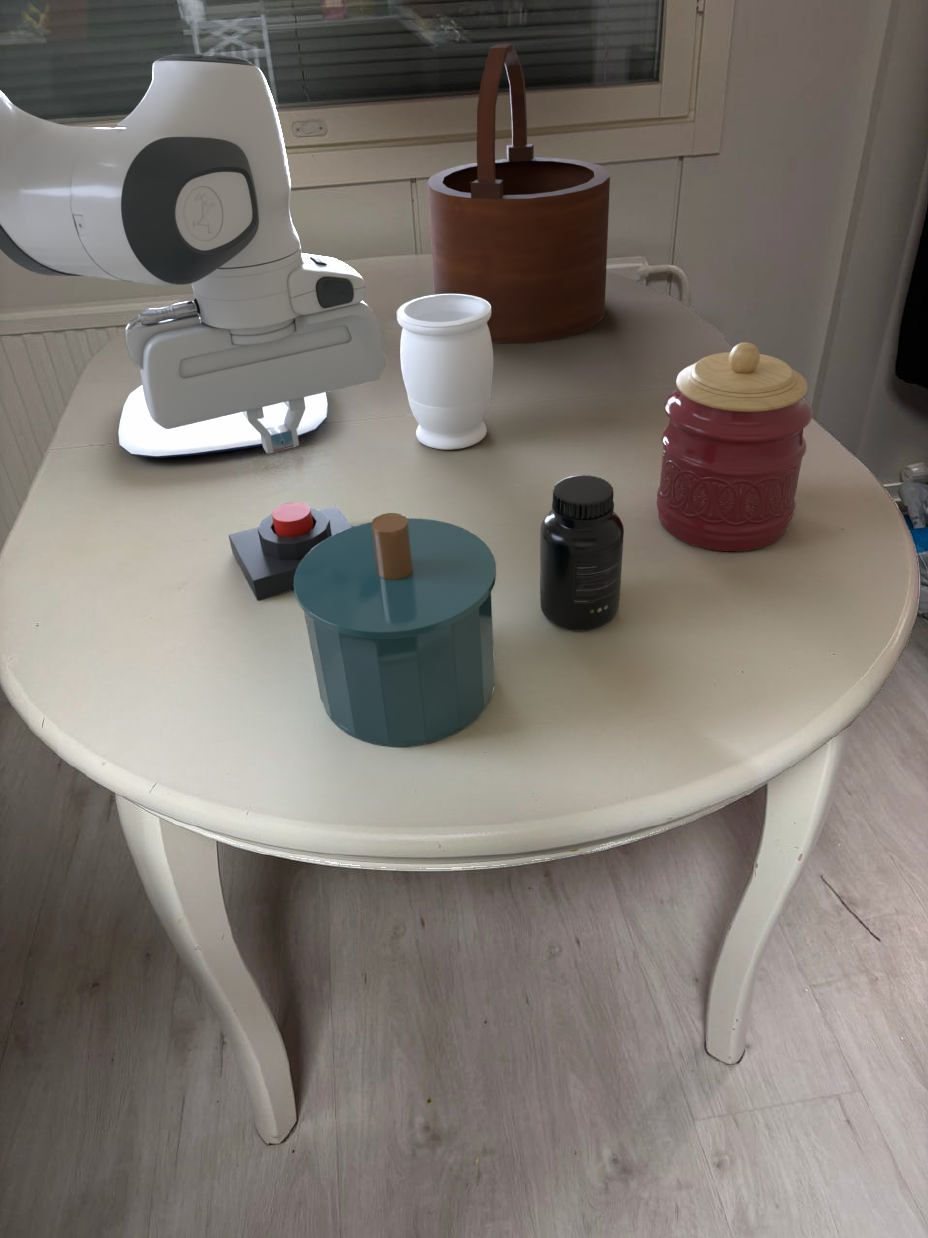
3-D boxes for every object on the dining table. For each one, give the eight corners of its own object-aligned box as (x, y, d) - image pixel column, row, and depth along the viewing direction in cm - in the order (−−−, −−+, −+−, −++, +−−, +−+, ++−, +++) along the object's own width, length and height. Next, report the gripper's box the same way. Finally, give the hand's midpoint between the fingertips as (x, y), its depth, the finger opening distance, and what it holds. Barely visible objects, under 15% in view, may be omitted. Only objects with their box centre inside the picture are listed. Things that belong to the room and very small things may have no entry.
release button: (281, 541, 85) (278, 525, 84) (270, 524, 87) (267, 508, 86) (318, 531, 86) (315, 515, 85) (306, 514, 89) (303, 498, 88)
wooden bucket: (613, 287, 149) (624, 30, 128) (594, 346, 129) (604, 54, 108) (458, 283, 154) (444, 37, 133) (416, 340, 135) (393, 60, 114)
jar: (496, 454, 105) (492, 322, 96) (404, 457, 105) (392, 327, 96) (494, 414, 113) (491, 289, 104) (410, 417, 113) (399, 293, 104)
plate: (114, 475, 105) (110, 462, 104) (131, 389, 125) (128, 377, 124) (336, 445, 108) (334, 431, 107) (318, 366, 128) (317, 354, 127)
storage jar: (357, 771, 66) (338, 657, 60) (300, 664, 76) (278, 557, 70) (524, 709, 71) (523, 597, 64) (449, 615, 81) (442, 511, 74)
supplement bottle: (526, 599, 82) (525, 479, 75) (594, 579, 84) (599, 460, 77) (563, 643, 77) (565, 518, 69) (634, 620, 79) (643, 496, 71)
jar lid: (334, 671, 60) (323, 606, 57) (271, 563, 70) (259, 503, 67) (533, 605, 64) (532, 542, 61) (445, 513, 75) (441, 455, 72)
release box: (257, 600, 84) (248, 564, 81) (232, 553, 90) (224, 518, 88) (370, 567, 87) (365, 530, 85) (338, 524, 94) (333, 489, 92)
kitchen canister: (631, 504, 94) (642, 333, 84) (738, 476, 98) (762, 309, 87) (703, 568, 84) (726, 384, 74) (820, 534, 88) (858, 354, 77)
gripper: (124, 327, 68) (170, 492, 76) (383, 275, 74) (399, 433, 83) (111, 303, 72) (156, 462, 81) (355, 257, 79) (374, 408, 87)
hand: (281, 447), depth 82 cm, fingers closed
